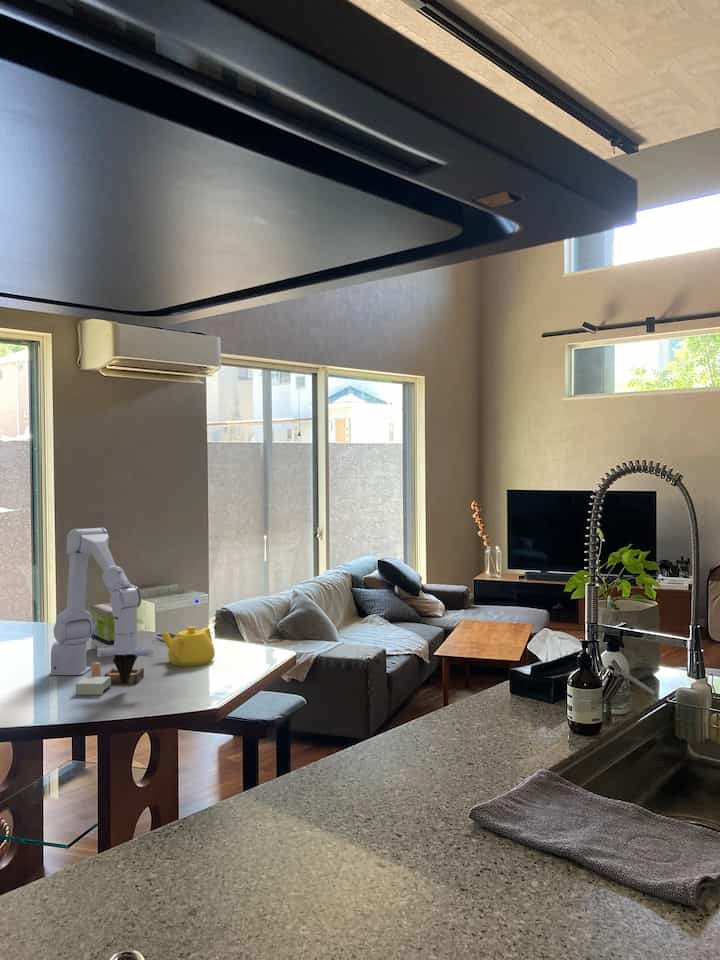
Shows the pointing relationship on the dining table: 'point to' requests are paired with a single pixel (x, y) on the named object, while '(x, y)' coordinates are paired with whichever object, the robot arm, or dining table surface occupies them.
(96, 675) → the pin
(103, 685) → the cover
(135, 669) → the wooden compartment tray
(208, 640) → the teapot
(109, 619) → the tea box
